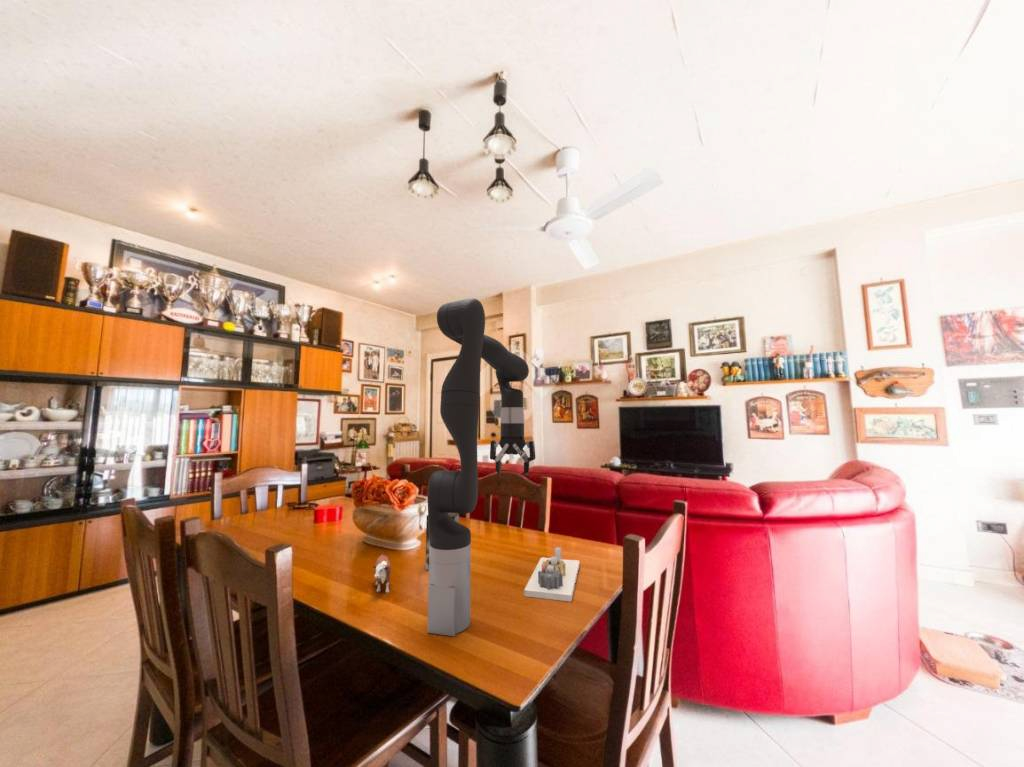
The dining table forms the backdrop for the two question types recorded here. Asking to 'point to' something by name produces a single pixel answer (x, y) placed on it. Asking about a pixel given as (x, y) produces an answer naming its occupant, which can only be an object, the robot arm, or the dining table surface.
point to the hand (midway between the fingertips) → (512, 474)
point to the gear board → (553, 592)
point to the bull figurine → (382, 572)
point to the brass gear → (557, 566)
